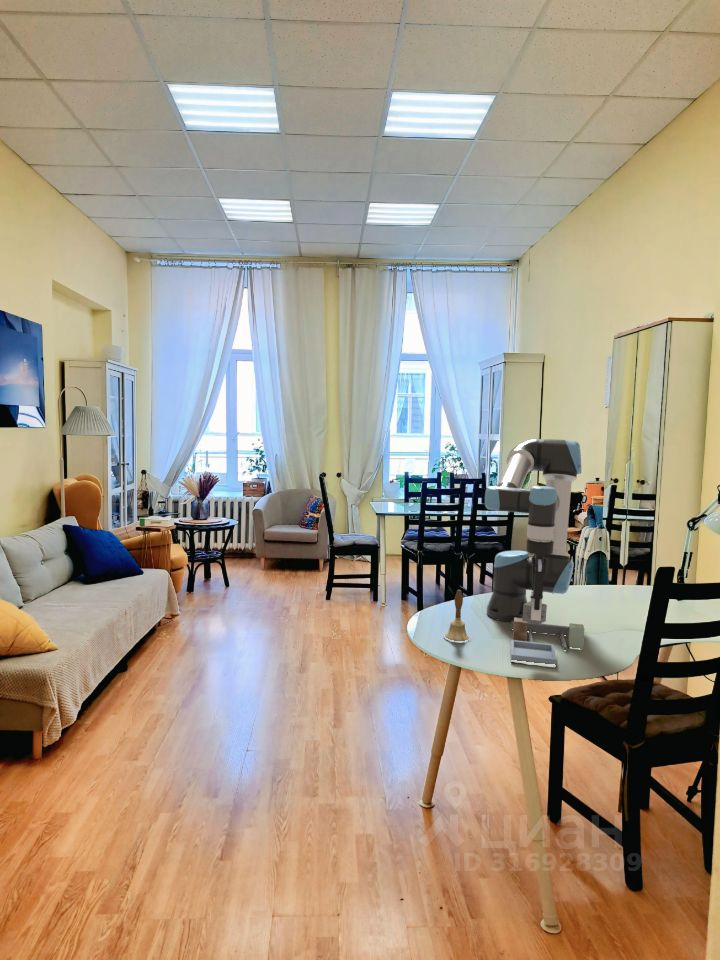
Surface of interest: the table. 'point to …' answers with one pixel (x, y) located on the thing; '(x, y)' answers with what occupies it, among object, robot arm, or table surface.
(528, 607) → the dice cube
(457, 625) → the hand bell
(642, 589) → the table surface
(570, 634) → the sage block
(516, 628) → the walnut block
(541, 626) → the grey bar frame
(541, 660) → the slate tray
